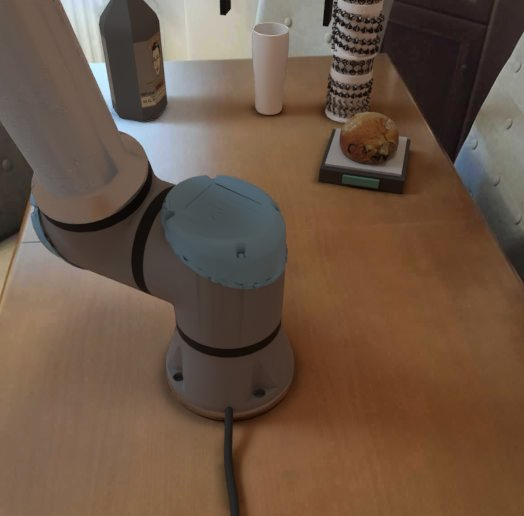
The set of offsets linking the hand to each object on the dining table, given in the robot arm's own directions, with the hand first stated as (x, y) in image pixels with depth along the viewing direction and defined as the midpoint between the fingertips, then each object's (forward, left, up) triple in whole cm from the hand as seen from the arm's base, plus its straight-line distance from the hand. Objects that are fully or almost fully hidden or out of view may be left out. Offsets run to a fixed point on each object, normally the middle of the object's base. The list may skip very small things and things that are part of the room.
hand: (275, 17), depth 78 cm
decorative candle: (+32, -8, -27) cm, 43 cm away
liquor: (+22, +31, -27) cm, 47 cm away
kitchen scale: (+13, -14, -27) cm, 33 cm away
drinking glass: (+29, +7, -27) cm, 40 cm away
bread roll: (+13, -14, -24) cm, 31 cm away
